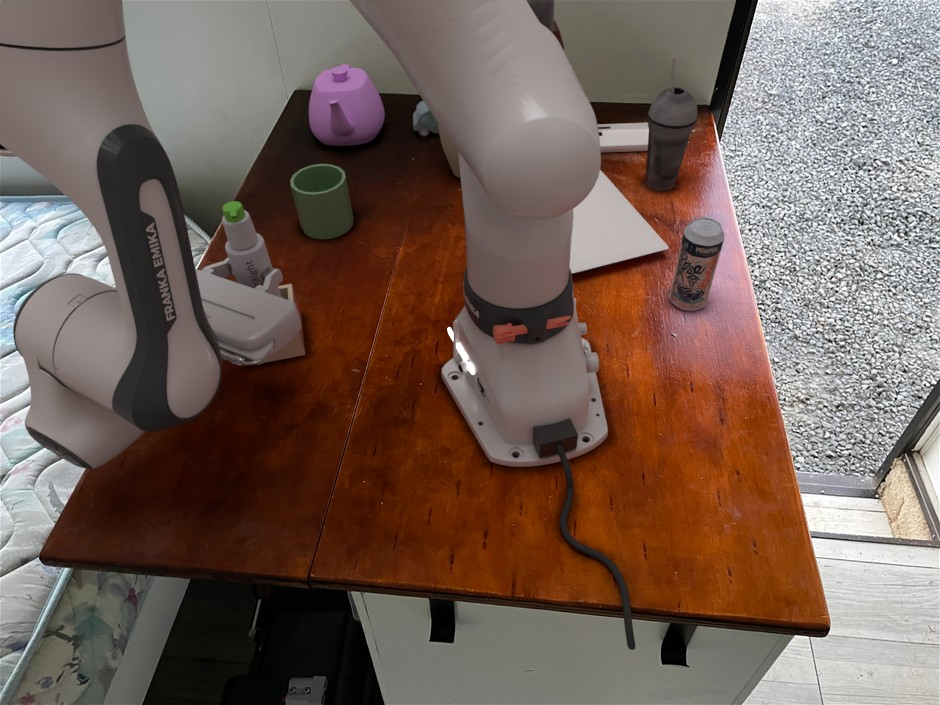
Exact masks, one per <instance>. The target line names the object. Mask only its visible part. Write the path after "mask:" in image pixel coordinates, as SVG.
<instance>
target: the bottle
mask: <svg viewBox="0 0 940 705" xmlns="http://www.w3.org/2000/svg"><path fill="white" fill-rule="evenodd" d="M222 214H223V216H222V217H221V222H222V225H223V230H224V233H225V236H226V240H227V241H226V242H225V244H224V245H225V246H224V250H225V252H226V255H227V258H229V261H230V264H231V266H232V269H233V272H234V275H235V276H234V275H233V276H234V277H235V280H236V283H239V284H242V285H245V286H248V287H251V288H255V287H257V286H258V285H262V286H263V284H264V282H263V279H262V276H261V273H262V272H264V271H265V270H267V268H268V267H273V265H272V262H271V261H272V260H271V259H270V255H269V252H268V248H267V246H266V243H265V242H266V241H265V239H264V237H263V236H262V235H261V234H260V233H258V232H257V231H256V229H255V225H254V223H253V220H252V218H251V215H250V213H249V211H247V210H245V209H244V206H243V204H242V203H241V202H240V201H237V200H232V201H228V202H226V203H225V204H224V205H223V206H222ZM278 286H279V285H278ZM278 286H277V287H276V288H275V293H274V295H275V296H278V297H281V294H280V291H279V287H278ZM281 298H282V297H281Z"/></svg>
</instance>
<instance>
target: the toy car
mask: <svg viewBox="0 0 940 705" xmlns="http://www.w3.org/2000/svg"><path fill="white" fill-rule="evenodd" d="M412 126H413V131H414V132H418V134H419V135H420V137H424V138H425V137H427V136H429V135H430V132H432V133H433V134H439V127H438V122H437V120H436V119H435V117H434V116H433V114H432V113H431V111H430V110H429V108H428V107H427V105H426V104H425V102H424V101H423V100H421V101H419V102H418V104H417V105H416V110H415V111H414V112H412Z"/></svg>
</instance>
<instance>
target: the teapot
mask: <svg viewBox="0 0 940 705" xmlns="http://www.w3.org/2000/svg"><path fill="white" fill-rule="evenodd" d="M385 117H386V113H385V108H384V104H383V100H382V98H381V96H380V93H379V91H378V89H377V87H376V86H375V84H374V83H373V81H372V80H371V78H370V76H369V75H368V73H367V72H366V71H365V70H364V69H362V68H359V67H352V66H351V65H350V64H349V63H343V64H340V65H339V66H334V67H333V68H329V69H325V70H323V71H322V72H320V73H319V74H318V76H317V77H316V78H315V80H314V83H313V86H312V90H311V94H310V98H309V102H308V122H309V127H310V130H311V133H312V134H313V135H314V137H315V138H316V139H318V140H319V141H320V142H321V143H322V144H323V145H327V146H332V147H333V146H336V147H344V146H345V147H346V146H347V147H348V146H357V145H364V144H367V143H369V142H372V141H373V140H374V139H375V138H376V137H377V136H378V135H379V133H380V132H381V130H382V127H383V125H384V124H385V119H386V118H385Z"/></svg>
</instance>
